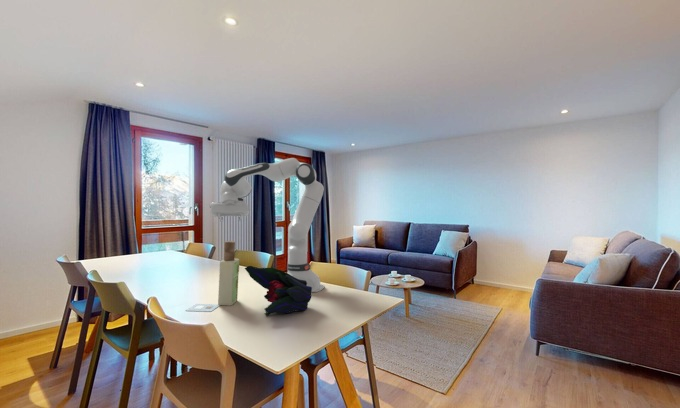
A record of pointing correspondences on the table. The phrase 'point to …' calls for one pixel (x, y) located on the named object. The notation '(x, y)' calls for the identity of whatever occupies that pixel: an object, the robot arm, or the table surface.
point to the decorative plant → (281, 290)
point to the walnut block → (229, 250)
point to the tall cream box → (228, 282)
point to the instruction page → (203, 307)
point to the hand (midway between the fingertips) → (230, 220)
